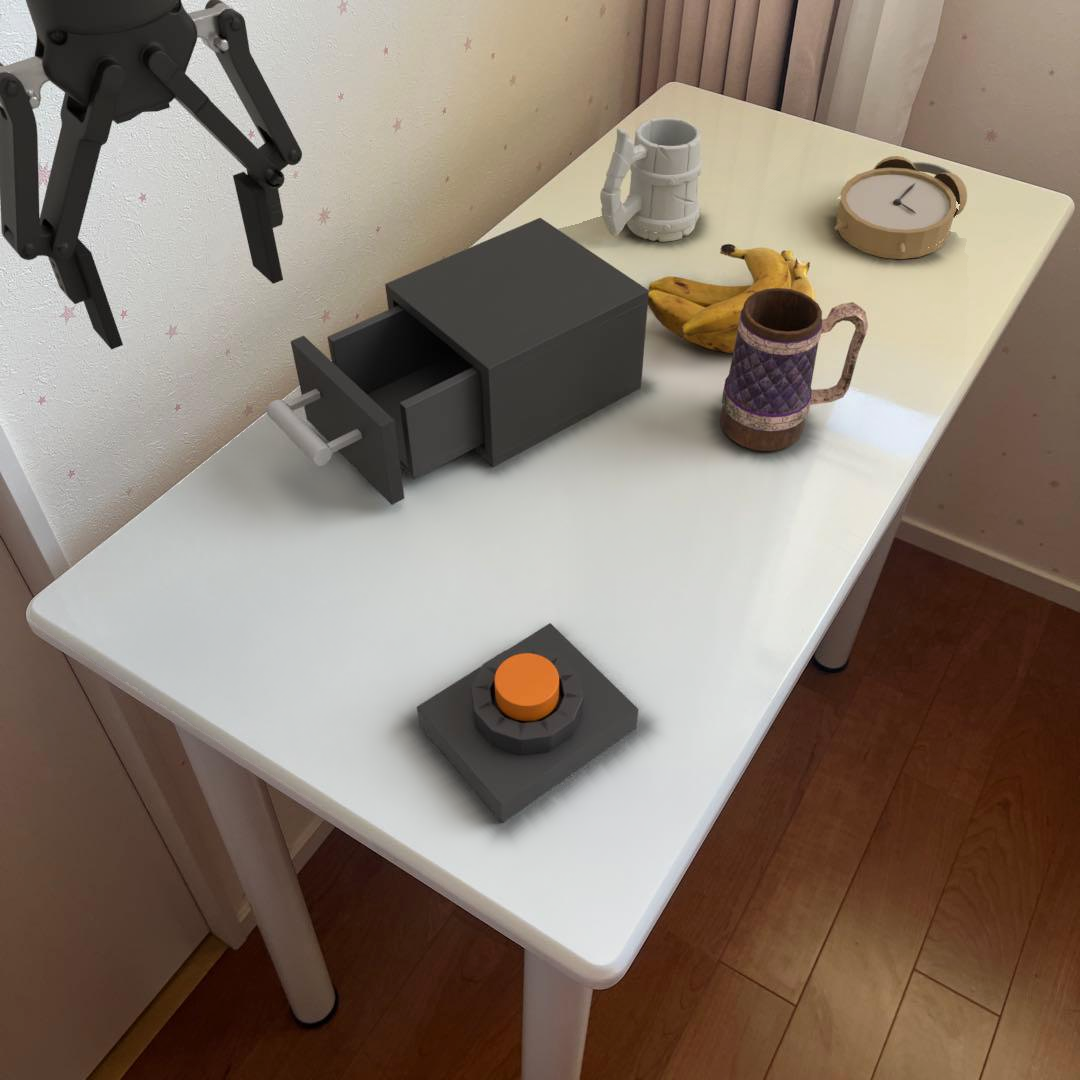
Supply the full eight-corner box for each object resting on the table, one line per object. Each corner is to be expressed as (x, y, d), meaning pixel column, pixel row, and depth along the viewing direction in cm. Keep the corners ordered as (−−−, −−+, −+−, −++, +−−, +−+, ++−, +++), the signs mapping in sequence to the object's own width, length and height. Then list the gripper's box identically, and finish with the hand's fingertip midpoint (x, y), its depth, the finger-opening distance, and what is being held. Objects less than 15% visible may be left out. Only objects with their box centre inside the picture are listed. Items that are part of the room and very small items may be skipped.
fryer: (493, 467, 89) (488, 368, 81) (396, 381, 96) (384, 283, 89) (641, 387, 95) (649, 290, 88) (540, 313, 103) (540, 217, 96)
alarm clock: (818, 210, 109) (891, 128, 115) (813, 248, 113) (885, 167, 119) (923, 248, 105) (994, 161, 111) (915, 287, 109) (984, 201, 115)
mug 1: (714, 226, 113) (728, 113, 104) (626, 266, 108) (633, 152, 99) (664, 195, 117) (673, 84, 108) (577, 233, 112) (579, 120, 103)
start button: (521, 733, 67) (520, 717, 66) (482, 690, 70) (481, 674, 68) (571, 699, 69) (572, 682, 68) (532, 659, 71) (532, 642, 70)
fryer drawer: (343, 531, 83) (328, 452, 77) (260, 441, 89) (240, 362, 84) (541, 425, 91) (541, 347, 85) (451, 350, 97) (445, 273, 92)
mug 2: (719, 452, 90) (739, 332, 81) (716, 396, 95) (734, 276, 86) (847, 458, 89) (880, 337, 80) (837, 401, 94) (867, 281, 85)
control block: (502, 823, 67) (500, 789, 64) (419, 725, 72) (413, 690, 69) (636, 728, 72) (640, 692, 69) (550, 642, 77) (550, 605, 74)
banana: (844, 289, 105) (856, 236, 101) (755, 396, 95) (765, 342, 90) (702, 240, 111) (708, 188, 107) (603, 336, 100) (606, 283, 96)
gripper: (-136, 10, 47) (37, 406, 64) (326, -104, 57) (374, 266, 73) (-184, -41, 51) (-9, 344, 68) (256, -139, 61) (316, 218, 77)
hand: (190, 303), depth 70 cm, fingers open, 10 cm apart
